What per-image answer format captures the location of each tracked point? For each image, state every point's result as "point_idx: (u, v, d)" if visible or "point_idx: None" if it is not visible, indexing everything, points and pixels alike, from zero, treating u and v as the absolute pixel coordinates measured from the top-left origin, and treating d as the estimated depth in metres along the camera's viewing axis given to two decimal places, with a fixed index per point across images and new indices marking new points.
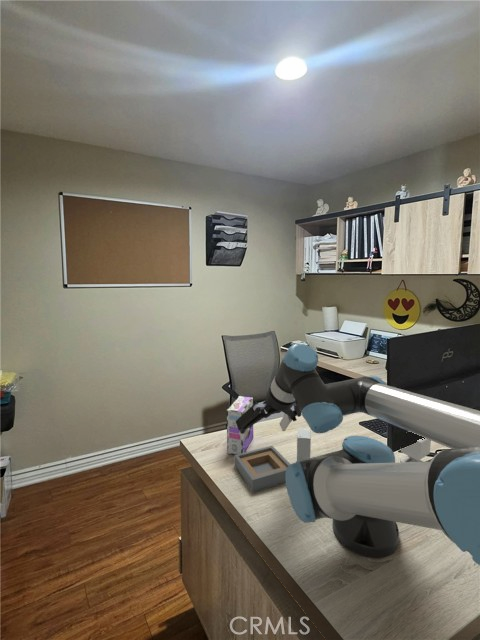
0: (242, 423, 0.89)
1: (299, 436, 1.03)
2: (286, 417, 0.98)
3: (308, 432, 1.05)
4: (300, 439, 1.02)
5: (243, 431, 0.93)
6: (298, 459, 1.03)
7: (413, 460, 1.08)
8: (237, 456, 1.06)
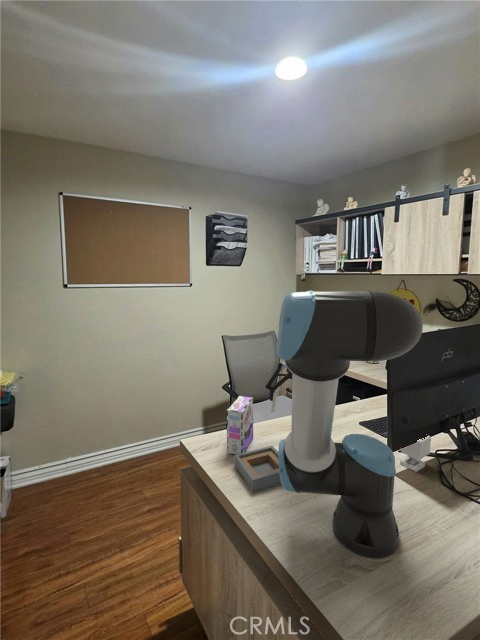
0: (269, 381, 1.07)
1: None
2: None
3: None
4: None
5: (272, 397, 1.08)
6: None
7: (413, 460, 1.08)
8: (237, 456, 1.06)
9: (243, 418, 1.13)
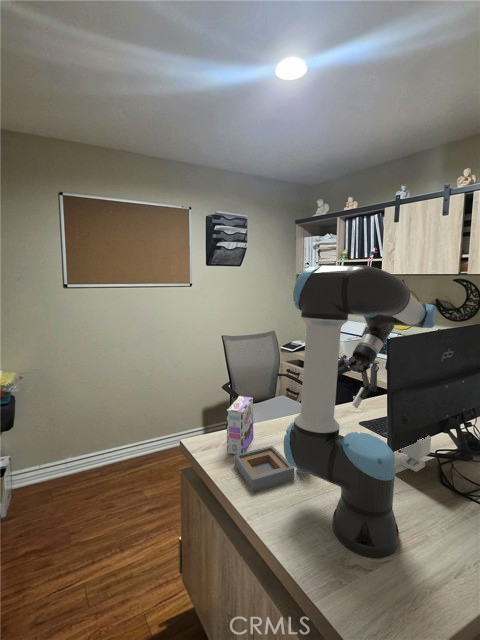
0: None
1: None
2: None
3: None
4: None
5: None
6: None
7: (413, 460, 1.08)
8: (237, 456, 1.06)
9: (243, 418, 1.13)
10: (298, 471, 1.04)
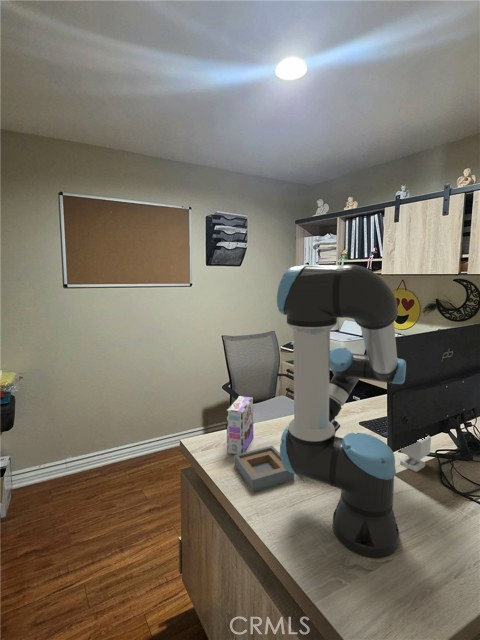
0: None
1: None
2: None
3: None
4: None
5: None
6: None
7: (413, 460, 1.08)
8: (237, 456, 1.06)
9: (243, 418, 1.13)
10: None
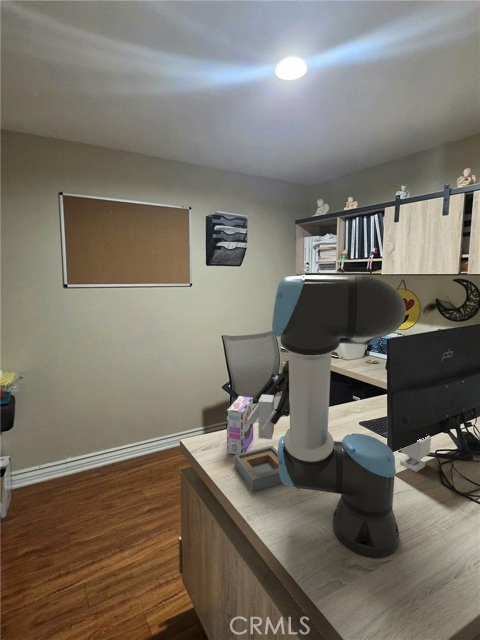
0: None
1: (261, 400, 0.99)
2: None
3: (271, 397, 1.02)
4: (261, 403, 0.99)
5: None
6: (260, 424, 1.00)
7: (413, 460, 1.08)
8: (237, 456, 1.06)
9: (243, 418, 1.13)
10: (260, 437, 1.00)
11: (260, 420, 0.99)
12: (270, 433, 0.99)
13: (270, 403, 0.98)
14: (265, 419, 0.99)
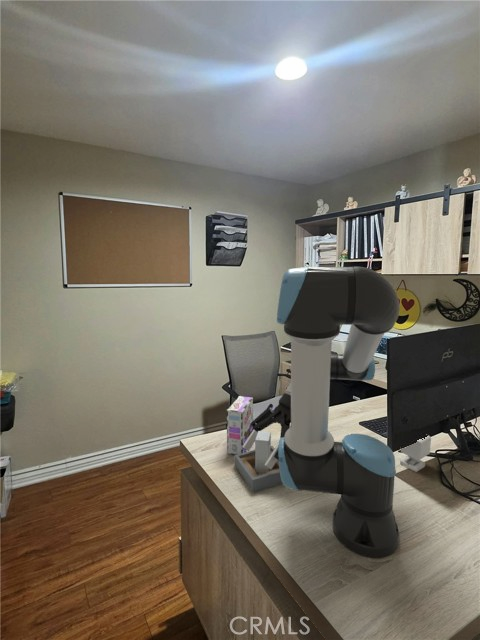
0: None
1: (257, 438, 1.01)
2: None
3: (268, 434, 1.03)
4: (258, 441, 1.00)
5: None
6: (256, 462, 1.01)
7: (413, 460, 1.08)
8: (237, 456, 1.06)
9: (243, 418, 1.13)
10: None
11: (257, 458, 1.01)
12: (267, 471, 1.01)
13: (267, 442, 0.99)
14: (262, 457, 1.00)
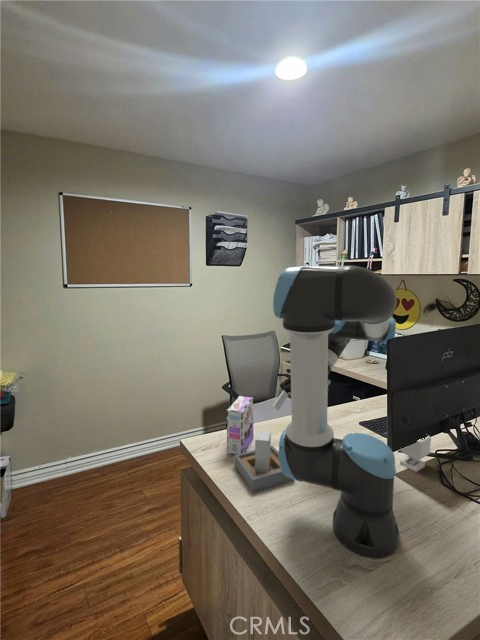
0: None
1: (257, 438, 1.01)
2: None
3: (268, 434, 1.03)
4: (258, 441, 1.00)
5: None
6: (256, 462, 1.01)
7: (413, 460, 1.08)
8: (237, 456, 1.06)
9: (243, 418, 1.13)
10: None
11: (257, 458, 1.01)
12: (266, 471, 1.01)
13: (266, 442, 0.99)
14: (262, 457, 1.00)
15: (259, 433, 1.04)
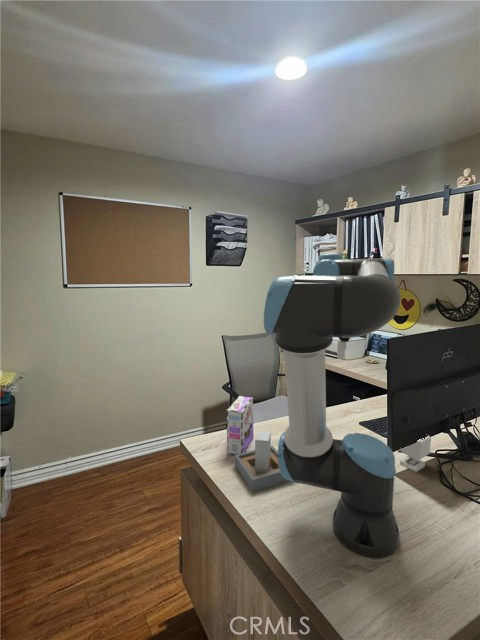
0: None
1: (257, 438, 1.01)
2: (340, 343, 1.16)
3: (268, 434, 1.03)
4: (258, 441, 1.00)
5: None
6: (256, 462, 1.01)
7: (413, 460, 1.08)
8: (237, 456, 1.06)
9: (243, 418, 1.13)
10: None
11: (257, 458, 1.01)
12: (266, 471, 1.01)
13: (266, 442, 0.99)
14: (262, 457, 1.00)
15: (259, 433, 1.04)
